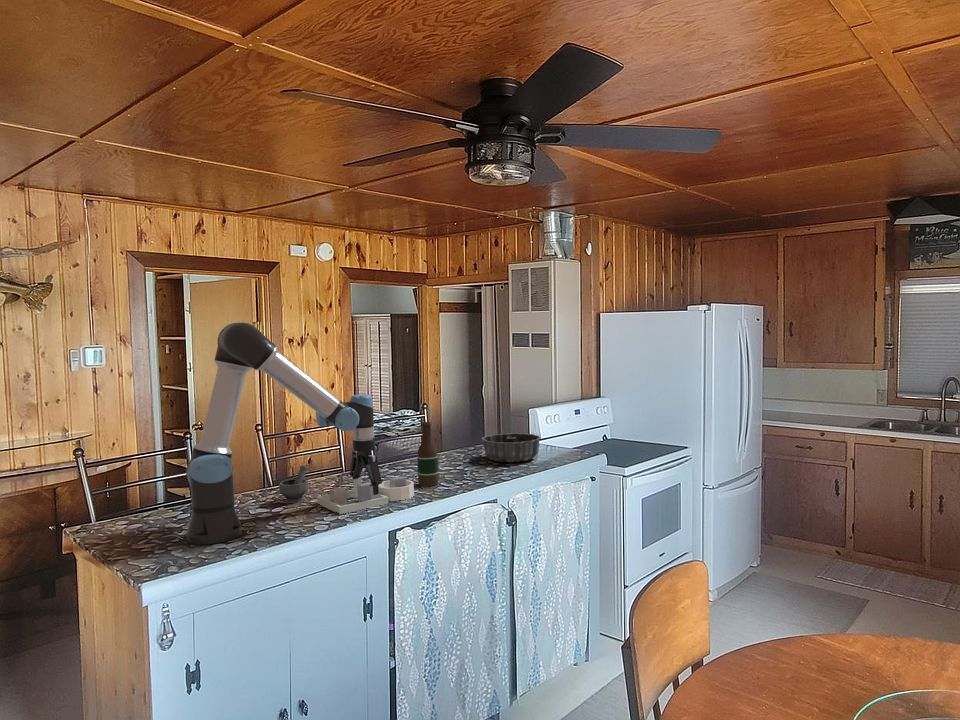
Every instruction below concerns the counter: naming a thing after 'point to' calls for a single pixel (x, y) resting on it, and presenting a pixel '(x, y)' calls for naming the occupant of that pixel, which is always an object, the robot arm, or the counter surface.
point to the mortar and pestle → (295, 487)
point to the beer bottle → (427, 458)
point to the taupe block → (338, 496)
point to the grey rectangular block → (397, 482)
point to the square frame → (339, 509)
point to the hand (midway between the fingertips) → (366, 500)
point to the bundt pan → (511, 447)
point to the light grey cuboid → (364, 492)
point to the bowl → (396, 491)
